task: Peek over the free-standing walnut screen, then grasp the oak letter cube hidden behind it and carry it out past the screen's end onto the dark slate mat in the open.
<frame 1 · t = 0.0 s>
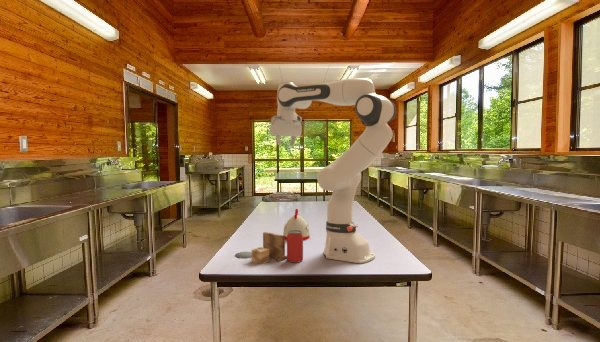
hand: (286, 145, 165), 48 cm above the table, fingers open, 8 cm apart
screen: (273, 257, 143), on the table
letter cube: (260, 261, 138), on the table
slate mat: (245, 255, 147), on the table
beer can: (294, 260, 139), on the table
kitchen timer: (296, 238, 178), on the table
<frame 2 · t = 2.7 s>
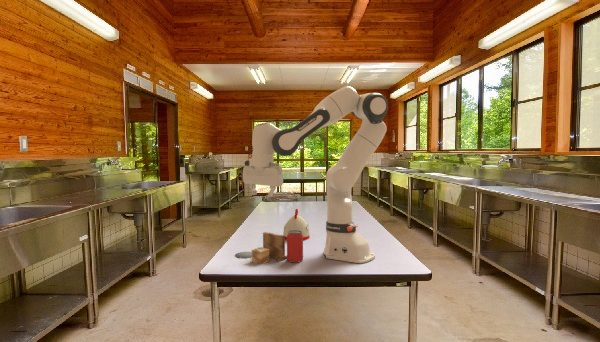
hand: (262, 195, 140), 26 cm above the table, fingers open, 8 cm apart
nothing on the table moved.
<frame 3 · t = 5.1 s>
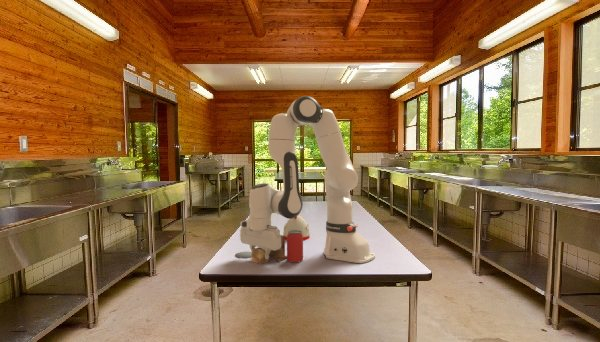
hand: (260, 257, 138), 2 cm above the table, fingers closed on letter cube, 5 cm apart
letter cube: (260, 261, 138), on the table, touching gripper
everything else where it was.
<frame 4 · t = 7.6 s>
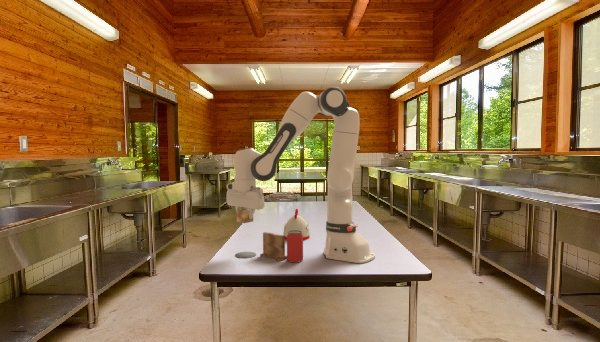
hand: (245, 217, 146), 16 cm above the table, fingers closed on letter cube, 5 cm apart
letter cube: (245, 221, 146), point 15 cm above the table, touching gripper
everything else where it was.
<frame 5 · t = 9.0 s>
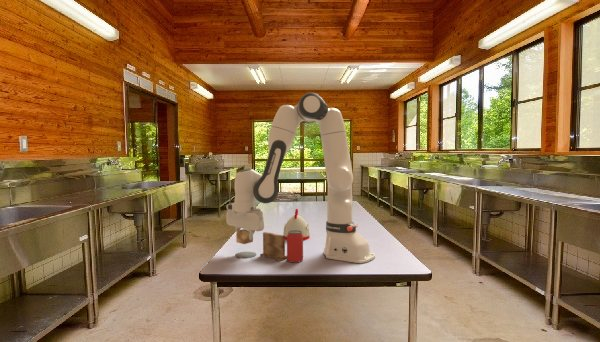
hand: (244, 238, 146), 7 cm above the table, fingers closed on letter cube, 5 cm apart
letter cube: (244, 242, 146), point 6 cm above the table, touching gripper
everything else where it was.
when the fingers open (3 cm above the table, at t = 10.3 s): letter cube drops 1 cm, resting on slate mat.
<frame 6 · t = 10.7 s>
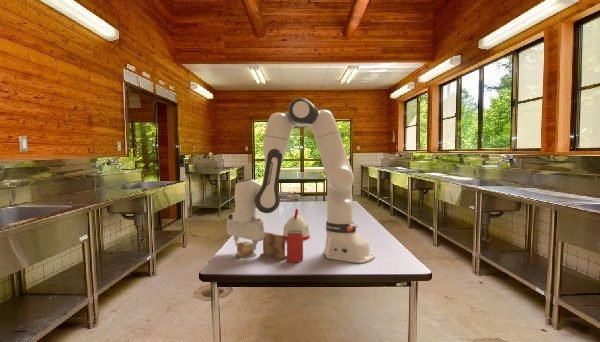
hand: (245, 248, 147), 3 cm above the table, fingers open, 8 cm apart
letter cube: (245, 254, 147), resting on slate mat
everything else where it was.
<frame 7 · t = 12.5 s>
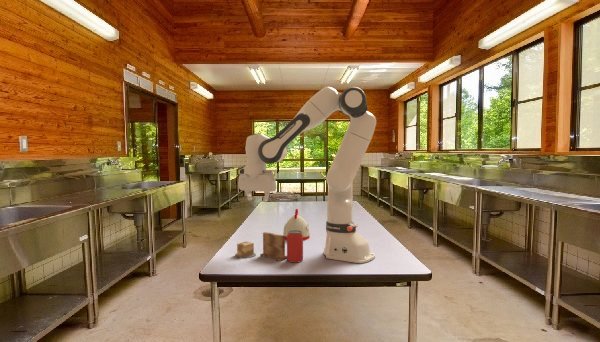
hand: (257, 201, 151), 23 cm above the table, fingers open, 8 cm apart
nothing on the table moved.
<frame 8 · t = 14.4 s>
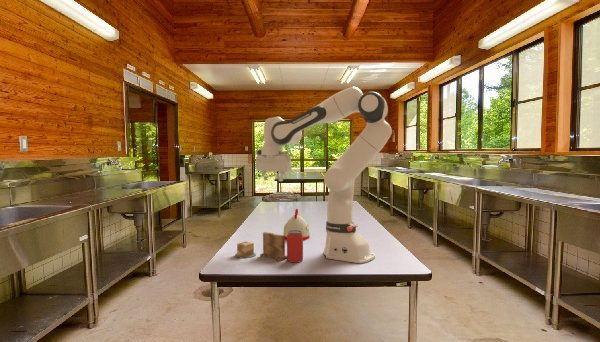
hand: (273, 180, 161), 31 cm above the table, fingers open, 8 cm apart
nothing on the table moved.
at the end: letter cube 0.1 cm from the slate mat (horizontally); letter cube resting on slate mat; letter cube tilted 0° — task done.
